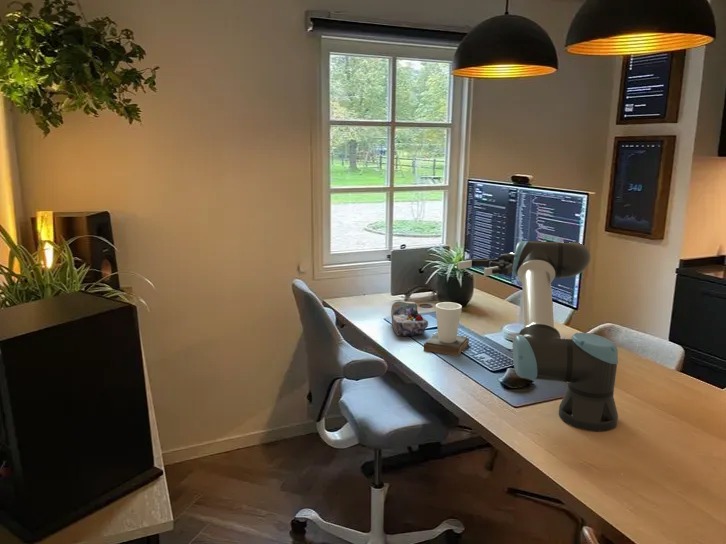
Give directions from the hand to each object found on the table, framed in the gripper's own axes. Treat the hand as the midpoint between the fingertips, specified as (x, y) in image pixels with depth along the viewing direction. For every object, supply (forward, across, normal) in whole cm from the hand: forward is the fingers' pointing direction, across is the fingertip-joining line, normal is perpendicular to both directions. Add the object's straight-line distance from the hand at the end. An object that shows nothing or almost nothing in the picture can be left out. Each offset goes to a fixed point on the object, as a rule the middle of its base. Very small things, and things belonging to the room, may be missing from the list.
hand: (471, 268), depth 211 cm
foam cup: (+10, 0, -26) cm, 28 cm away
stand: (+10, 0, -28) cm, 30 cm away
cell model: (+11, +24, -29) cm, 39 cm away
